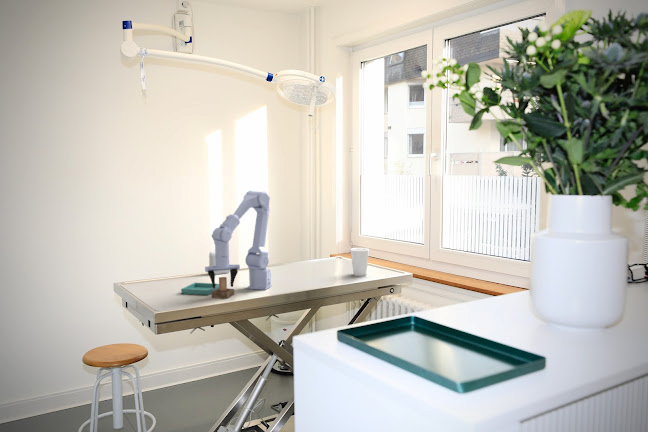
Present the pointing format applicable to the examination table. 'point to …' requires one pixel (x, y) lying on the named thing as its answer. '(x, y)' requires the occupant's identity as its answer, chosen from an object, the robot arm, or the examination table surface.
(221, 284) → the dowel
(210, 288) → the teal tray
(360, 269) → the foam cup
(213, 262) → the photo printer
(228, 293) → the walnut holder
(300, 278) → the examination table surface
